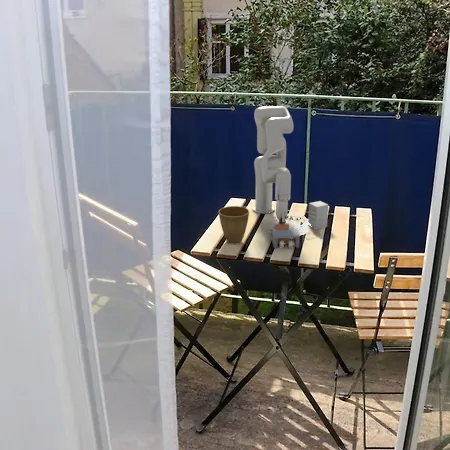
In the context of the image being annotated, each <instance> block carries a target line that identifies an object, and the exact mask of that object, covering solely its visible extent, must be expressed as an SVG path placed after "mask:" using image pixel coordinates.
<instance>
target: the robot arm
mask: <svg viewBox="0 0 450 450" xmlns="http://www.w3.org/2000/svg"><path fill="white" fill-rule="evenodd" d="M253 118H254V121H255V125H256V130H257V131H256V132H257V133H256V134H257V135H256V138H257V139H256V142H257V143H256V148H257V152H258V153H259V154H260V155H261V154H262V155H261V156H258V157H256V158H255V159H254V162H253V167H254V174H255V205H254V206H253V207H252V211H253V212H255V213H256V214H270V213H269V212H271V213H274V212H275V216H276V219H277V220H278V223H286V220H287V219H288V215H289V214H288V212H289V211H288V209H289V207H288V206H289V201H290V200H291V188H292V187H291V185H292V184H291V183H292V181H291V180H292V174H291V173H290V170H289V169H288V168H287V167H286V162H287V141H286V138H285V137H284V134H291V133H293V131H294V121H293V118H292V115H291V113H290V112H289V110H288V108H287V107H286V106H282V105H280V106H278V105H276V106H275V105H274V106H260V107H257V108H255V109H254V117H253ZM274 184H275V188H274V191H275V192H274V193H275V195H274V196H275V197H274V199H275V202H276V206H275V207H274V206H273V185H274ZM273 211H274V212H273Z"/></svg>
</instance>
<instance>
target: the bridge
mask: <svg viewBox="0 0 450 450" xmlns="http://www.w3.org/2000/svg"><path fill="white" fill-rule="evenodd" d="M270 235H271V236H270ZM269 236H270V240H271V242H272V247H273V248H274V249H277V248H278V244H277V238H291V240H289V244H288V248H290V247H292V248H293V247H294V246H295V247H294V248H300V232H299V230H298V229H294V228H291V229H289V230H275V229H269ZM292 238H293V239H292ZM280 247H281V248H282V247H283V248H284V247H285V244H284V241H283V240H281V241H280V244H279V248H280Z"/></svg>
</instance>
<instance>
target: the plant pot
mask: <svg viewBox="0 0 450 450" xmlns="http://www.w3.org/2000/svg"><path fill="white" fill-rule="evenodd" d="M249 214H250V209H248V208H246V207H244V206H238V205H232V206H225V207H222V208H220V209H219V210H218V216H219V223H220V225H221V226H220V227H221V229H222V233H223V235H224V238H225V240H226V242H227V243H228V244H229V245H230V244H231V245H238V244H241V243H242V241H243V240H244V236H245V234H246V230H247V225H248V222H249V216H250V215H249ZM240 242H241V243H240ZM237 243H238V244H237Z"/></svg>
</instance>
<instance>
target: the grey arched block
mask: <svg viewBox="0 0 450 450" xmlns="http://www.w3.org/2000/svg"><path fill="white" fill-rule="evenodd" d="M274 230H290V224H289V222H287V223H286V222H285V223H279V222H278V223H274ZM281 240H283V241H284V245H289V240H292V238H277V245H280V241H281Z"/></svg>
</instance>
